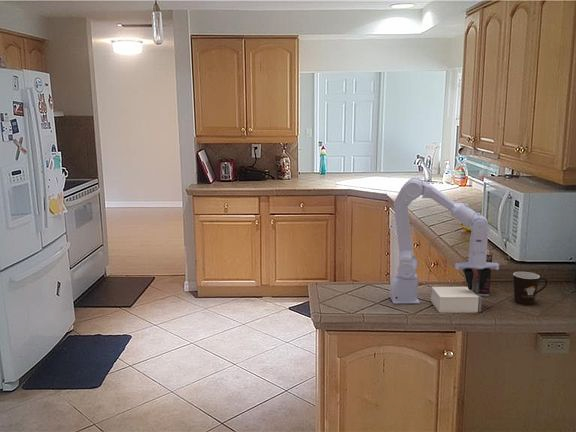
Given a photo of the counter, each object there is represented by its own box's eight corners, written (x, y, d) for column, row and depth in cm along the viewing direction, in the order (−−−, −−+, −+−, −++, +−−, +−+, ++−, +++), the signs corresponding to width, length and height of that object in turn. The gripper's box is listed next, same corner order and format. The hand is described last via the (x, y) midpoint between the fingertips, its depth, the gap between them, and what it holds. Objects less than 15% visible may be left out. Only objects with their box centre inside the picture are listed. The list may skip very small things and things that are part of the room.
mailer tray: (442, 311, 185) (443, 286, 183) (433, 300, 196) (435, 276, 194) (481, 311, 185) (482, 286, 183) (470, 300, 196) (471, 276, 194)
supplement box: (490, 296, 201) (492, 255, 198) (476, 296, 202) (478, 254, 199) (486, 289, 209) (489, 249, 206) (473, 288, 210) (475, 248, 207)
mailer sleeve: (439, 312, 185) (440, 297, 184) (431, 301, 196) (431, 286, 195) (477, 312, 185) (478, 297, 184) (467, 301, 196) (468, 286, 195)
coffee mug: (511, 304, 192) (513, 277, 191) (510, 297, 200) (512, 270, 199) (547, 308, 189) (550, 280, 187) (545, 300, 196) (547, 273, 195)
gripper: (460, 254, 183) (458, 293, 185) (503, 254, 183) (500, 292, 185) (454, 249, 190) (451, 286, 192) (495, 248, 190) (493, 286, 192)
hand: (475, 289), depth 189 cm, fingers open, 3 cm apart
